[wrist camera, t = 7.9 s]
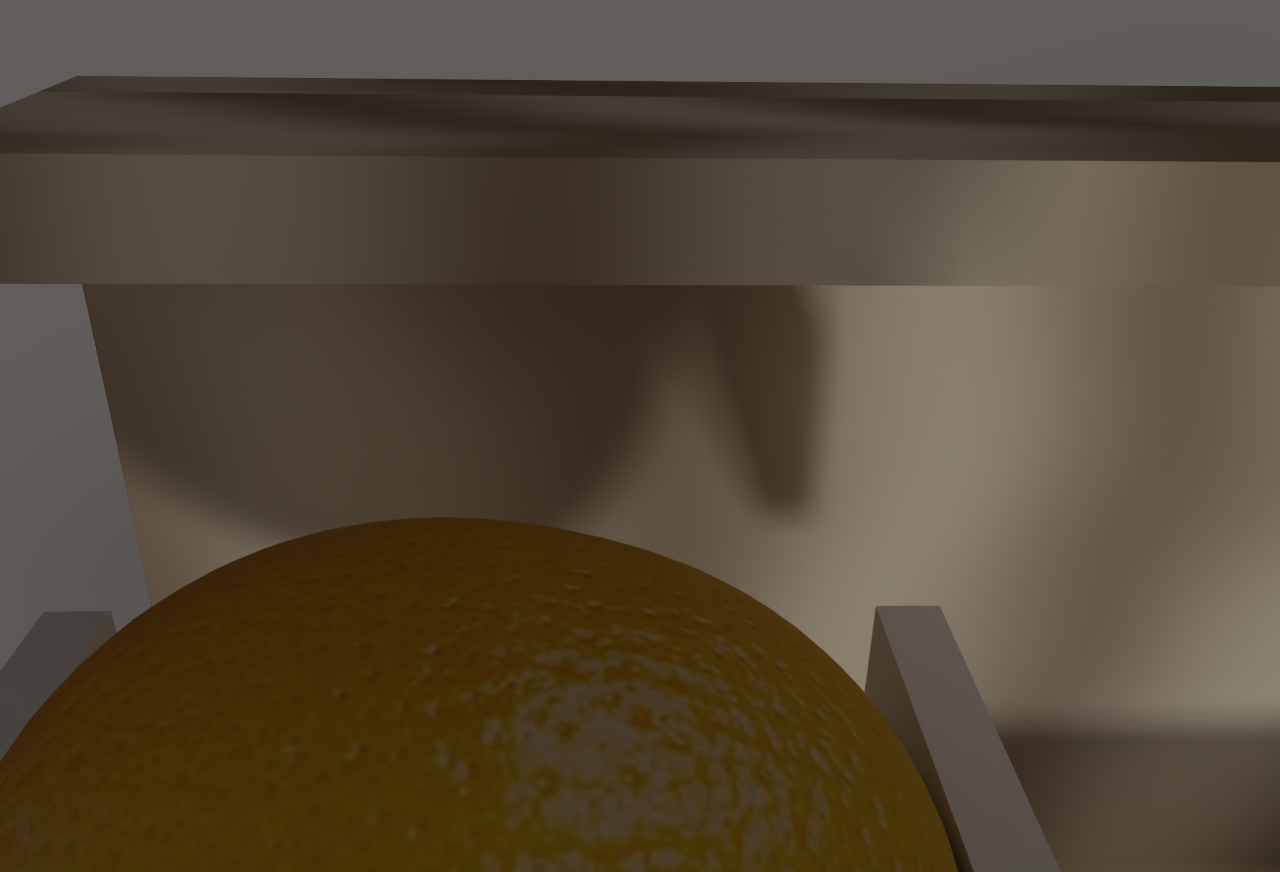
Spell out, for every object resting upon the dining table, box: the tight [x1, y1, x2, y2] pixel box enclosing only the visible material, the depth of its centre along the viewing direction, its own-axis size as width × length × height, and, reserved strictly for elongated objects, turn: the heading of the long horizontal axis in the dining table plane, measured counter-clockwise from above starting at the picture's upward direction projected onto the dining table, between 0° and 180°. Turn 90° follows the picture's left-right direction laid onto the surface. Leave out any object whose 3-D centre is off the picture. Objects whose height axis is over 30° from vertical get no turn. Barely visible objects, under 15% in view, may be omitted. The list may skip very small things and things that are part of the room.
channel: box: [0, 76, 1280, 872], centre depth 14 cm, size 26×13×6 cm, turn 89°
